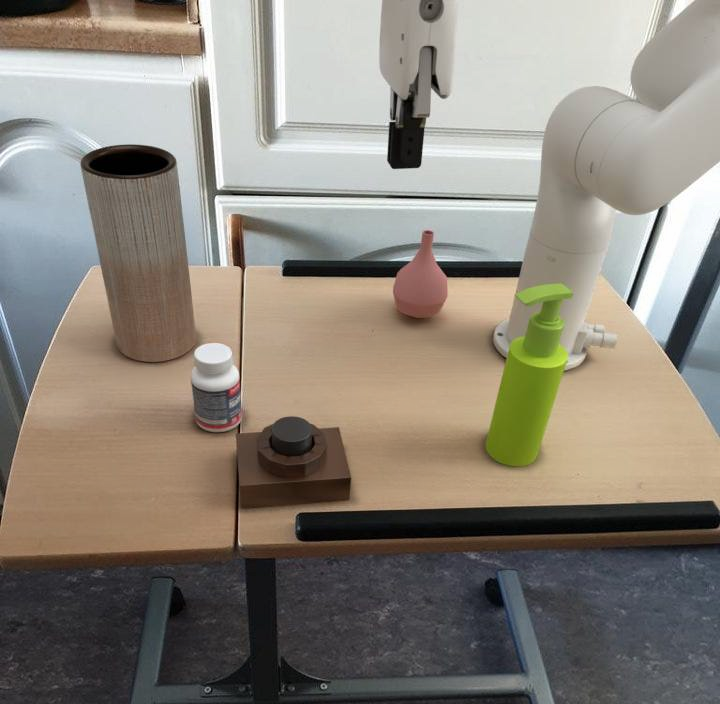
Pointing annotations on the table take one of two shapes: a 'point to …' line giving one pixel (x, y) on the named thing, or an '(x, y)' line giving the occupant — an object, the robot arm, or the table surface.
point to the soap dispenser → (529, 380)
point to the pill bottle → (216, 388)
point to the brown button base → (292, 470)
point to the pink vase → (421, 283)
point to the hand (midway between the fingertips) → (403, 165)
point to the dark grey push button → (291, 436)
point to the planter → (141, 249)
